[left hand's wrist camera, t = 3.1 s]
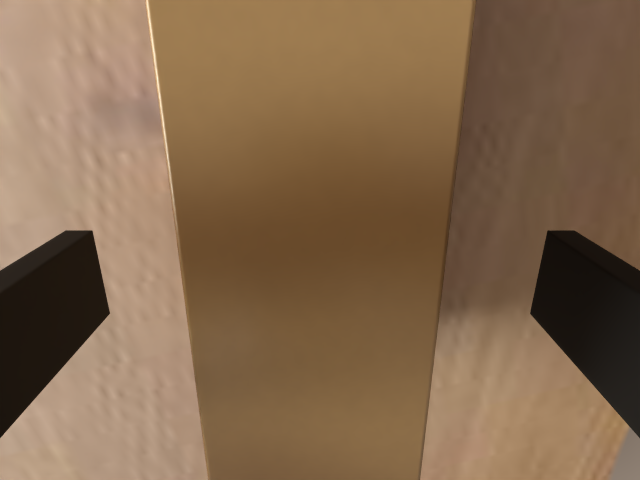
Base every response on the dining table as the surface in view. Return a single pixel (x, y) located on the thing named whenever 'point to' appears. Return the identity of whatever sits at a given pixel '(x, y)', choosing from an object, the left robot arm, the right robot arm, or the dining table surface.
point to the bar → (312, 222)
